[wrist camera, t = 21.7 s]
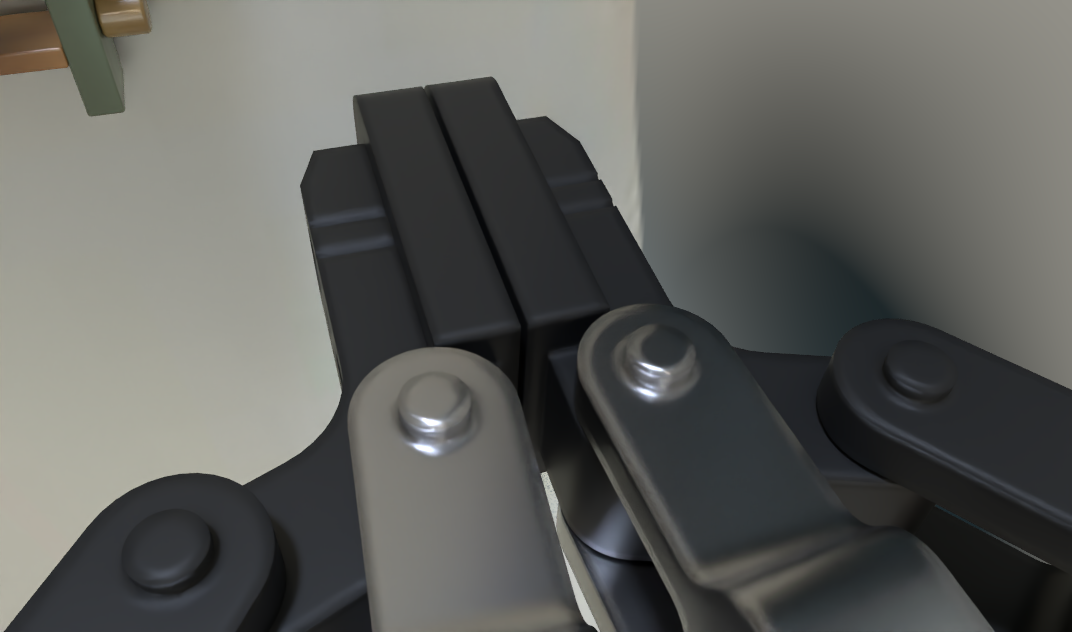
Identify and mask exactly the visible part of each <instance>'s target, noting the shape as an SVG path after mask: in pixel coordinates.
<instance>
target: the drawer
mask: <svg viewBox="0 0 1072 632" xmlns="http://www.w3.org/2000/svg"><path fill="white" fill-rule="evenodd" d="M45 2H46V5H47V8H48V10H49V11H39V12H30V13H20V14H11V15H2V16H0V75H8V74H17V73H25V72H33V71H42V70H50V69H58V68H66V67H68V66H70V69H71V71H72V74H73V77H74V79H75V82H76V85H77V87H78V90H79V93H80V95H81V98H82V100H83V103H84V106H85V108H86V111H87V114H88V115H89V116H99V115H106V114H114V113H121V112H124V111H125V100H124V75H123V69H122V66H121V63H120V60H119V57H118V54H117V51H116V48H115V45H114V42H113V39H112V37H121V36H130V35H139V34H147V33H150V32H151V30H152V24H151V18H150V13H149V9H148V5H147V1H146V0H45Z"/></svg>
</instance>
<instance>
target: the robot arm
mask: <svg viewBox="0 0 1072 632" xmlns="http://www.w3.org/2000/svg"><path fill="white" fill-rule="evenodd" d="M353 109H354V119H355V127H356V136H357V145H350V146H343V147H337V148H330V149H323V150H317V151H313V154H312V156H311V159H310V161H309V164H308V167H307V169H306V172H305V174H304V177H303V180H302V182H301V185H300V188H301V193H302V199H303V204H304V209H305V215H306V220H307V226H308V231H309V237H310V242H311V247H312V253H313V258H314V264H315V269H316V274H317V280H318V285H319V290H320V295H321V299H322V304H323V308H324V313H325V318H326V322H327V326H328V331H329V336H330V340H331V345H332V349H333V354H334V358H335V363H336V367H337V372H338V377H339V381H340V386H341V390H342V394H341V398H340V402H339V405H338V408H337V410H336V412H335V414H334V416H333V418H332V420H331V421H330V423H329V424H328V426H327V427H326V429H325V430H324V431H323V433H322V434H321V435H320V436H319V437H318V438H317V439H316V440H315V441H314V442H313V443H312V444H311V445H310V446H308V447H307V448H306V449H305V450H304V451H302V452H301V453H300V454H298V455H297V456H295V457H293V458H292V459H290V460H289V461H287V462H285V463H284V464H282V465H280V466H278V467H276V468H274V469H273V470H271V471H269V472H267V473H265V474H263V475H262V476H260V477H258V478H256V479H254V480H252V481H251V482H249V483H247V484H245V485H243V486H242V485H240V484H238V483H236V482H234V481H232V480H230V479H227V478H224V477H220V476H216V475H211V474H202V473H189V474H178V475H172V476H167V477H163V478H160V479H157V480H153V481H150V482H147V483H145V484H143V485H141V486H139V487H137V488H135V489H132V490H131V491H129V492H127V493H126V494H124V495H123V496H121V497H120V498H118V499H116V500H115V501H114V502H113V503H111V504H110V505H109V506H108V507H107V508H105V509H104V510H103V511H102V512H101V513H100V514H99V515H98V516H97V517H96V518H95V519H94V520H93V522H92V523H91V524H90V525H89V526H88V527H87V528H86V530H85V531H84V532H83V533H82V535H81V536H80V537H79V538H78V540H77V541H76V542H75V543H74V545H73V546H72V547H71V548H70V550H69V551H68V552H67V553H66V555H65V556H64V557H63V558H62V560H61V561H60V562H59V563H58V565H57V566H56V567H55V568H54V570H53V571H52V572H51V573H50V575H49V576H48V577H47V578H46V580H45V581H44V582H43V583H42V585H41V586H40V587H39V588H38V590H37V591H36V592H35V593H34V595H33V596H32V597H31V598H30V600H29V601H28V602H27V603H26V605H25V606H24V607H23V608H22V610H21V611H20V612H19V613H18V615H17V616H16V617H15V618H14V620H13V621H12V622H11V623H10V625H9V626H8V627H7V628H6V630H5V631H4V632H598V631H597V630H596V629H595V628H594V627H593V626H590V625H588V624H587V623H586V622H585V621H584V619H583V617H582V615H581V613H580V610H579V608H578V605H577V602H576V599H575V595H574V592H573V588H572V585H571V581H570V578H569V574H568V571H567V567H566V563H565V560H564V556H563V553H562V549H563V552H564V554H565V556H566V558H567V560H568V562H569V565H570V567H571V569H572V571H573V573H574V576H575V578H576V580H577V582H578V584H579V586H580V589H581V591H582V593H583V595H584V597H585V599H586V602H587V604H588V606H589V608H590V610H591V613H592V615H593V617H594V619H595V621H596V623H597V626H598V628H599V630H600V632H1072V390H1071V389H1069V388H1066V387H1064V386H1062V385H1060V384H1058V383H1055V382H1053V381H1051V380H1049V379H1047V378H1044V377H1042V376H1040V375H1038V374H1036V373H1033V372H1031V371H1029V370H1027V369H1024V368H1022V367H1020V366H1018V365H1016V364H1014V363H1011V362H1009V361H1007V360H1005V359H1003V358H1000V357H998V356H996V355H994V354H992V353H990V352H987V351H985V350H983V349H981V348H978V347H976V346H974V345H972V344H970V343H967V342H965V341H963V340H961V339H959V338H956V337H954V336H952V335H950V334H948V333H946V332H944V331H941V330H939V329H936V328H934V327H931V326H929V325H926V324H922V323H919V322H915V321H910V320H903V319H878V320H872V321H869V322H865V323H862V324H860V325H858V326H856V327H854V328H852V329H851V330H850V331H848V332H847V333H846V334H845V335H844V336H843V337H842V338H841V340H840V341H839V342H838V345H837V347H836V349H835V351H834V353H833V356H832V357H829V356H811V355H796V354H780V353H764V352H756V351H748V350H744V349H739V348H736V347H732V346H731V345H730V343H729V342H728V341H727V339H725V337H724V336H723V335H722V333H721V332H719V331H718V330H717V329H716V328H715V327H714V326H713V325H711V324H710V323H709V322H707V321H705V320H704V319H702V318H700V317H699V316H697V315H695V314H693V313H691V312H688V311H686V310H683V309H680V308H677V307H674V306H673V305H672V304H671V302H670V301H669V299H668V297H667V295H666V293H665V292H664V290H663V288H662V286H661V285H660V283H659V281H658V279H657V278H656V276H655V274H654V272H653V270H652V269H651V267H650V265H649V264H648V262H647V260H646V258H645V256H644V254H643V253H642V251H641V249H640V247H639V246H638V244H637V242H636V240H635V239H634V237H633V235H632V233H631V231H630V230H629V228H628V226H627V224H626V223H625V221H624V219H623V217H622V216H621V214H620V212H619V210H618V208H617V207H616V206H613V203H612V198H611V196H610V194H609V193H608V191H607V189H606V187H605V185H604V184H603V182H602V180H598V173H597V171H596V170H595V168H594V166H593V164H592V162H591V161H590V159H589V157H588V155H587V154H586V152H585V150H584V148H583V146H582V145H581V143H580V141H578V140H577V139H576V138H574V137H573V136H572V135H570V134H569V133H568V132H566V131H565V130H564V129H562V128H561V127H560V126H558V125H557V124H556V123H554V122H553V121H552V120H550V119H549V118H548V117H546V116H543V117H536V118H529V119H523V120H516V119H515V117H514V115H513V113H512V111H511V109H510V107H509V105H508V103H507V101H506V99H505V97H504V95H503V93H502V91H501V89H500V87H499V85H498V83H497V81H496V80H495V79H494V78H493V77H485V78H478V79H471V80H463V81H456V82H448V83H441V84H434V85H427V86H425V88H424V89H423V87H414V88H406V89H399V90H392V91H384V92H377V93H370V94H362V95H355V96H353ZM546 471H547V473H548V475H549V478H550V481H551V483H552V486H553V489H554V491H555V494H556V496H557V499H558V502H559V503H558V511H557V522H556V528H557V531H556V528H555V524H554V521H553V517H552V513H551V510H550V506H549V503H548V499H547V496H546V492H545V488H544V485H543V481H542V478H541V474H540V473H542V472H546ZM936 504H937V505H939V506H941V507H943V508H945V509H946V510H948V511H950V512H952V513H954V514H956V515H958V516H960V517H962V518H964V519H966V520H967V521H969V522H971V523H973V524H975V525H977V526H979V527H981V528H983V529H984V530H986V531H989V532H990V533H992V534H994V535H996V536H998V537H1000V538H1002V539H1003V540H1005V541H1007V542H1009V543H1011V544H1013V545H1015V546H1017V547H1019V548H1021V549H1023V550H1024V551H1026V552H1028V553H1030V554H1032V555H1034V556H1036V557H1038V558H1040V559H1042V560H1044V561H1045V562H1047V563H1049V564H1051V565H1049V564H1046V563H1043V562H1040V561H1038V560H1035V559H1034V558H1032V557H1030V556H1028V555H1026V554H1024V553H1022V552H1020V551H1019V550H1017V549H1015V548H1013V547H1011V546H1009V545H1007V544H1005V543H1003V542H1001V541H1000V540H998V539H996V538H994V537H992V536H990V535H988V534H986V533H984V532H983V531H981V530H979V529H977V528H975V527H973V526H971V525H969V524H967V523H965V522H964V521H962V520H960V519H958V518H956V517H954V516H952V515H950V514H948V513H946V512H944V511H943V510H941V509H939V508H937V507H935V505H936ZM560 544H561V546H560ZM561 547H562V549H561Z"/></svg>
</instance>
